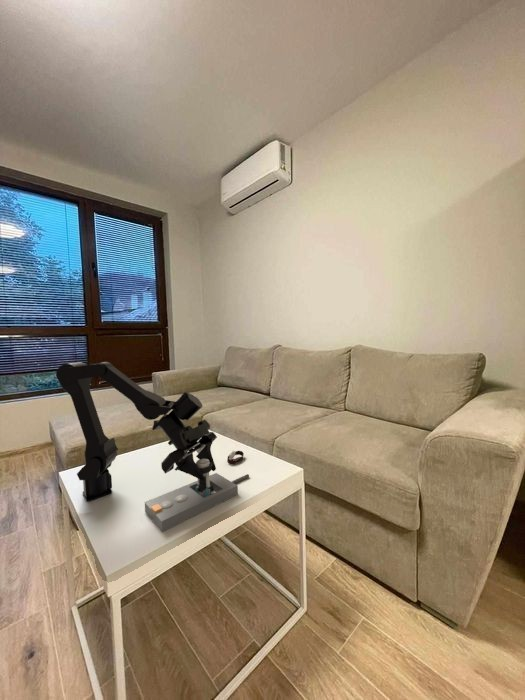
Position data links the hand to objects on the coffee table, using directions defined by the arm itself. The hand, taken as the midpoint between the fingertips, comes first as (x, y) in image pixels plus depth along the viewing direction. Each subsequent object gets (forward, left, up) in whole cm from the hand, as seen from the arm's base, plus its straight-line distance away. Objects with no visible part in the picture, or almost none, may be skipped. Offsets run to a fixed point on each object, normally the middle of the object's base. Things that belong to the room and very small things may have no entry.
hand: (209, 474), depth 79 cm
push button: (-1, +1, -7) cm, 7 cm away
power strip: (0, +1, -7) cm, 7 cm away
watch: (+19, +14, -7) cm, 25 cm away
